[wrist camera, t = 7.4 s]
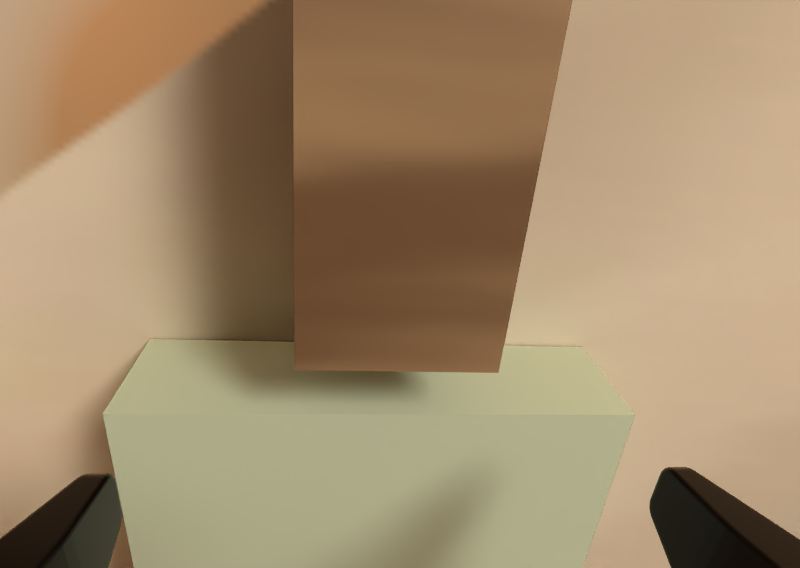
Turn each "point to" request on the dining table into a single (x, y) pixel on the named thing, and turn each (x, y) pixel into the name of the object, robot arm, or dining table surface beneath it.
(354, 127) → the walnut block
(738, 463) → the dining table surface
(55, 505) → the robot arm
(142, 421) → the block
